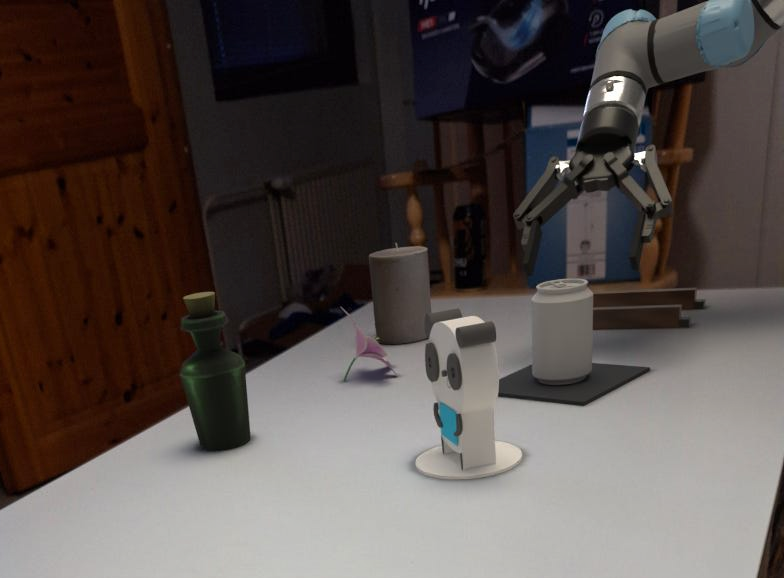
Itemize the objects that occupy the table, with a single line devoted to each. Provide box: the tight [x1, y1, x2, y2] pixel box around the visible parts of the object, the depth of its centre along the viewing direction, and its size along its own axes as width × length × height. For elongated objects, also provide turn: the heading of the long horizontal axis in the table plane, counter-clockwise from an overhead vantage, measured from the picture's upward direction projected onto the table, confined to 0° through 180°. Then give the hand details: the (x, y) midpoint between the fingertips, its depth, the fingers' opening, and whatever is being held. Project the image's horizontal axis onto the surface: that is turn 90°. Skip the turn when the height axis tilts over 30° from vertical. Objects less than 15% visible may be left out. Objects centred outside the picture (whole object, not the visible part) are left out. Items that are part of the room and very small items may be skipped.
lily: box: [340, 306, 399, 382], centre depth 136 cm, size 12×12×10 cm
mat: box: [498, 362, 651, 407], centre depth 121 cm, size 16×16×1 cm
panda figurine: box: [415, 307, 523, 481], centre depth 97 cm, size 12×11×15 cm
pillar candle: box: [368, 242, 432, 345], centre depth 153 cm, size 10×10×15 cm
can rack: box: [592, 287, 707, 330], centre depth 147 cm, size 21×14×3 cm, turn 60°
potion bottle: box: [179, 291, 251, 451], centre depth 114 cm, size 8×8×18 cm
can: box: [530, 278, 594, 385], centre depth 118 cm, size 8×8×12 cm
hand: (579, 267), depth 120 cm, fingers open, 13 cm apart
